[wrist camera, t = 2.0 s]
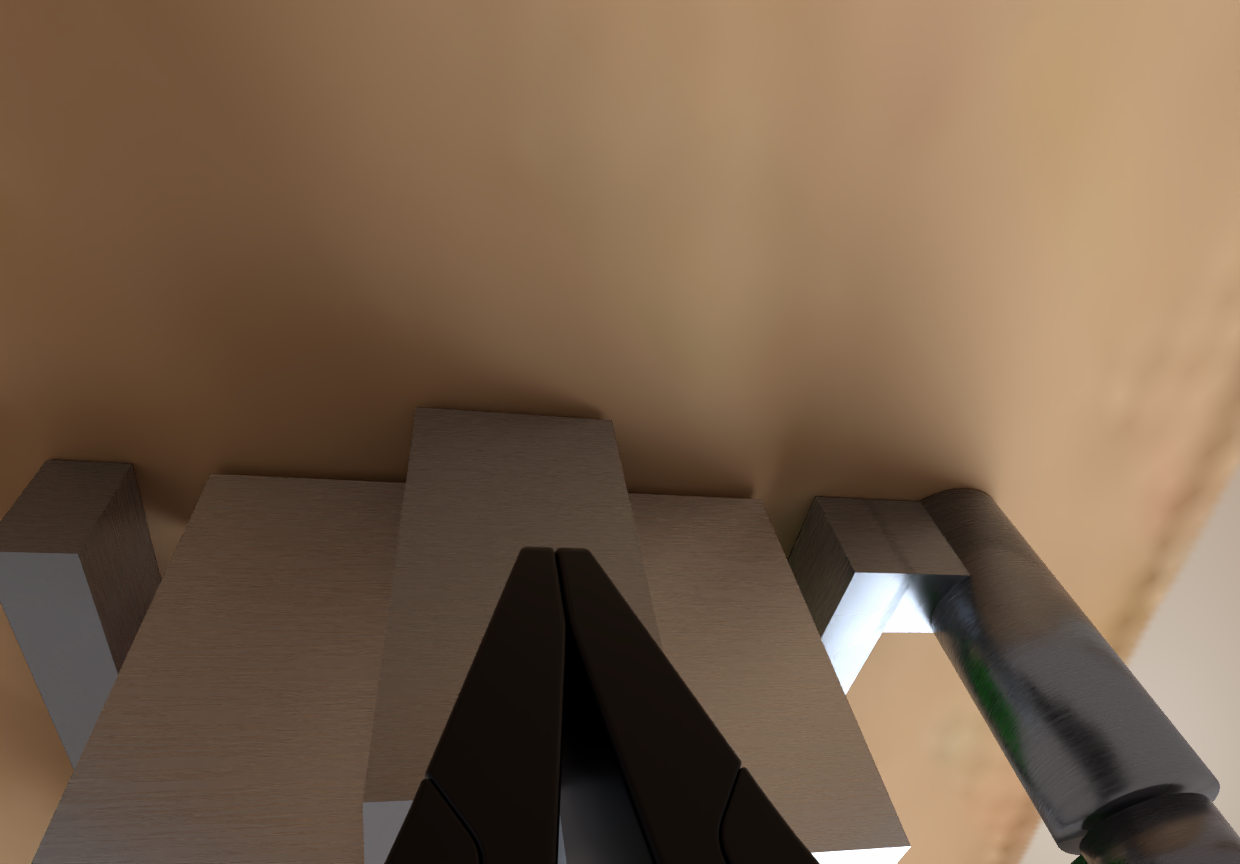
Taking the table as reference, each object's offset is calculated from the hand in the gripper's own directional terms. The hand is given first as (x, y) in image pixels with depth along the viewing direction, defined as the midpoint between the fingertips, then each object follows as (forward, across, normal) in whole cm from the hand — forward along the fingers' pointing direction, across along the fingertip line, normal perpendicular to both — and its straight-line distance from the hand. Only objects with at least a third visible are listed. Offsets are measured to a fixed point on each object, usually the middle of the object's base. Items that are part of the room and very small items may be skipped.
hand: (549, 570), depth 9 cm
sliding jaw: (+6, 0, +4) cm, 7 cm away
